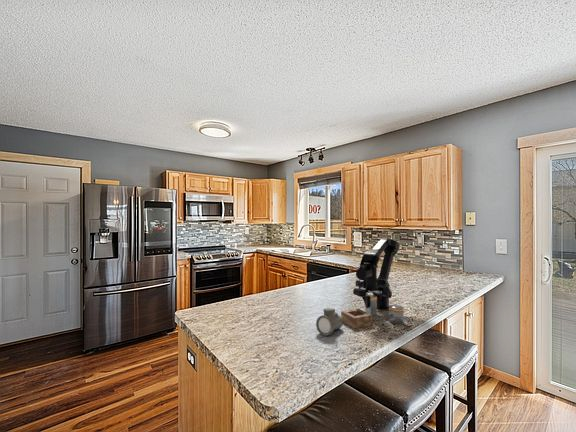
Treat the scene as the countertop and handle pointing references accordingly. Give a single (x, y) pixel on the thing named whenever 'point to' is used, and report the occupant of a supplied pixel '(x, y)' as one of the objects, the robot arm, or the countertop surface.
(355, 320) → the block
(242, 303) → the countertop surface
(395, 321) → the cylinder
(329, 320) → the pipe fitting
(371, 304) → the square bit
